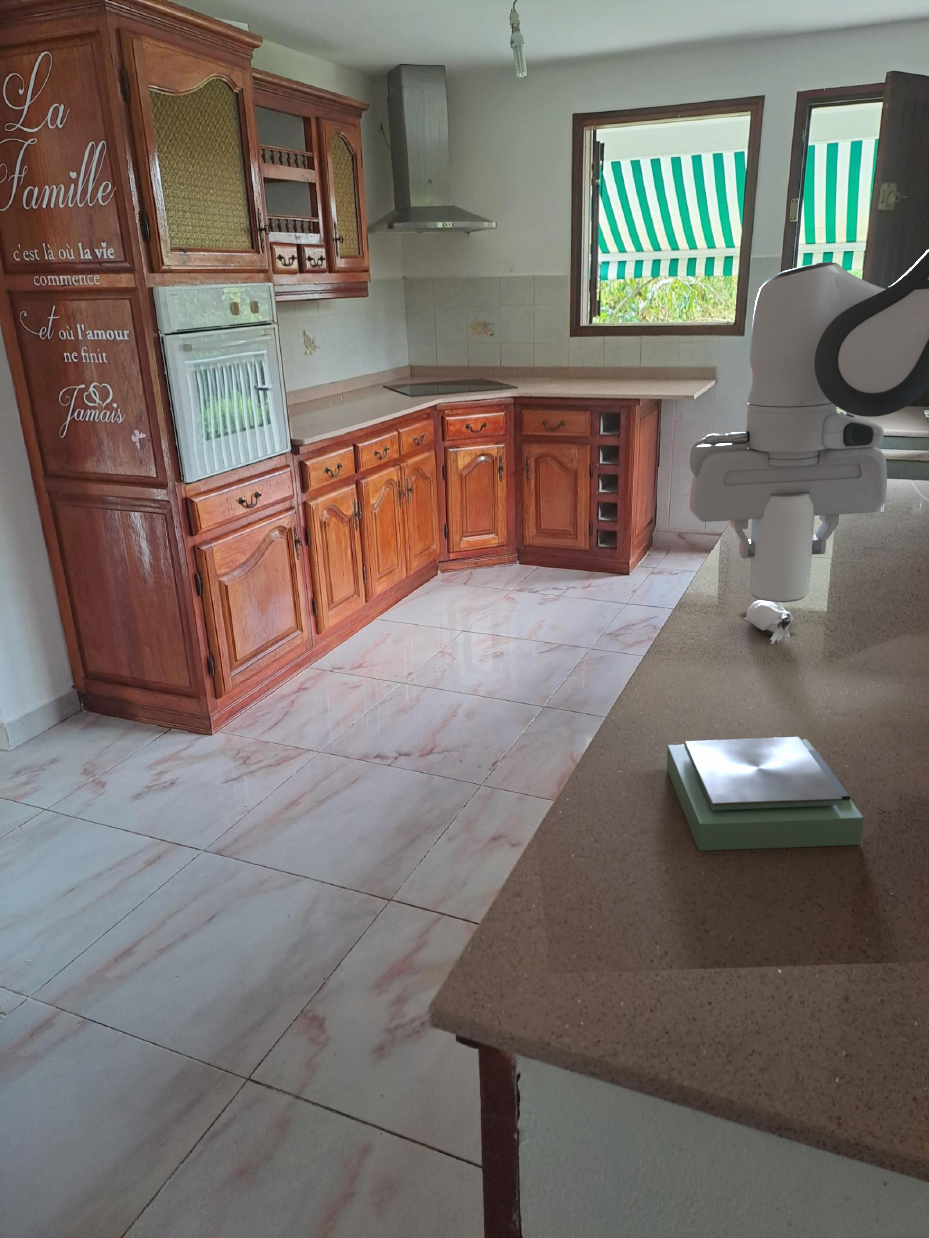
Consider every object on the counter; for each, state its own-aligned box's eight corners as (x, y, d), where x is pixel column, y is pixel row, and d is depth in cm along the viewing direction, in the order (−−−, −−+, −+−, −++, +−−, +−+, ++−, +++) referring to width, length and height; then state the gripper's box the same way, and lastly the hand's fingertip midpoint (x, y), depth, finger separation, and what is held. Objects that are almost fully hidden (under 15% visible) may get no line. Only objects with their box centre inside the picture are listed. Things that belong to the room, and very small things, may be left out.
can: (758, 605, 96) (765, 497, 92) (740, 586, 102) (745, 485, 98) (817, 601, 96) (826, 493, 92) (795, 583, 102) (802, 481, 98)
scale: (805, 763, 96) (807, 735, 95) (860, 845, 82) (864, 813, 81) (666, 769, 96) (667, 741, 95) (698, 851, 82) (699, 820, 81)
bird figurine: (803, 647, 128) (769, 610, 136) (804, 610, 124) (770, 574, 132) (771, 656, 128) (739, 618, 136) (772, 620, 124) (739, 583, 132)
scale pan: (798, 743, 93) (798, 736, 93) (841, 805, 82) (842, 798, 82) (684, 747, 94) (684, 741, 93) (712, 810, 82) (712, 803, 82)
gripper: (697, 440, 91) (693, 568, 95) (900, 427, 90) (886, 558, 94) (684, 431, 96) (682, 552, 101) (874, 419, 95) (863, 542, 100)
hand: (782, 555), depth 98 cm, fingers closed on can, 6 cm apart
